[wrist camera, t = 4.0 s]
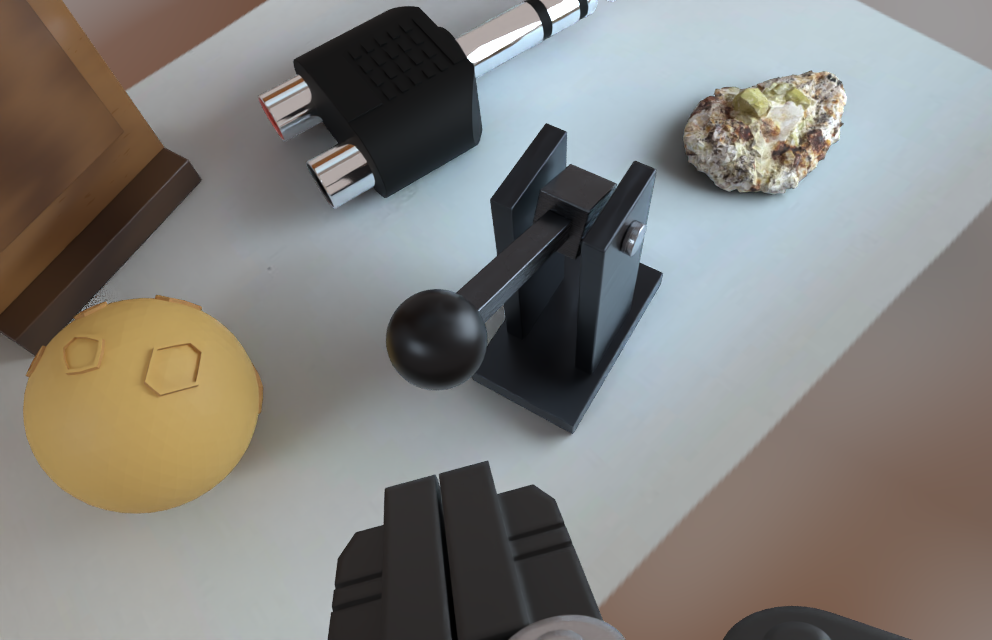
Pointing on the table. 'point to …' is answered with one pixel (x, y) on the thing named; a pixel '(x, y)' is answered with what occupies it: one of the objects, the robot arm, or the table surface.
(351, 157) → the audio adapter
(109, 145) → the door
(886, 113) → the table surface
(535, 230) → the lever
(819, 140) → the mineral rock
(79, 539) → the table surface
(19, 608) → the table surface
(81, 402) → the stress ball
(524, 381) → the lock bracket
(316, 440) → the table surface
